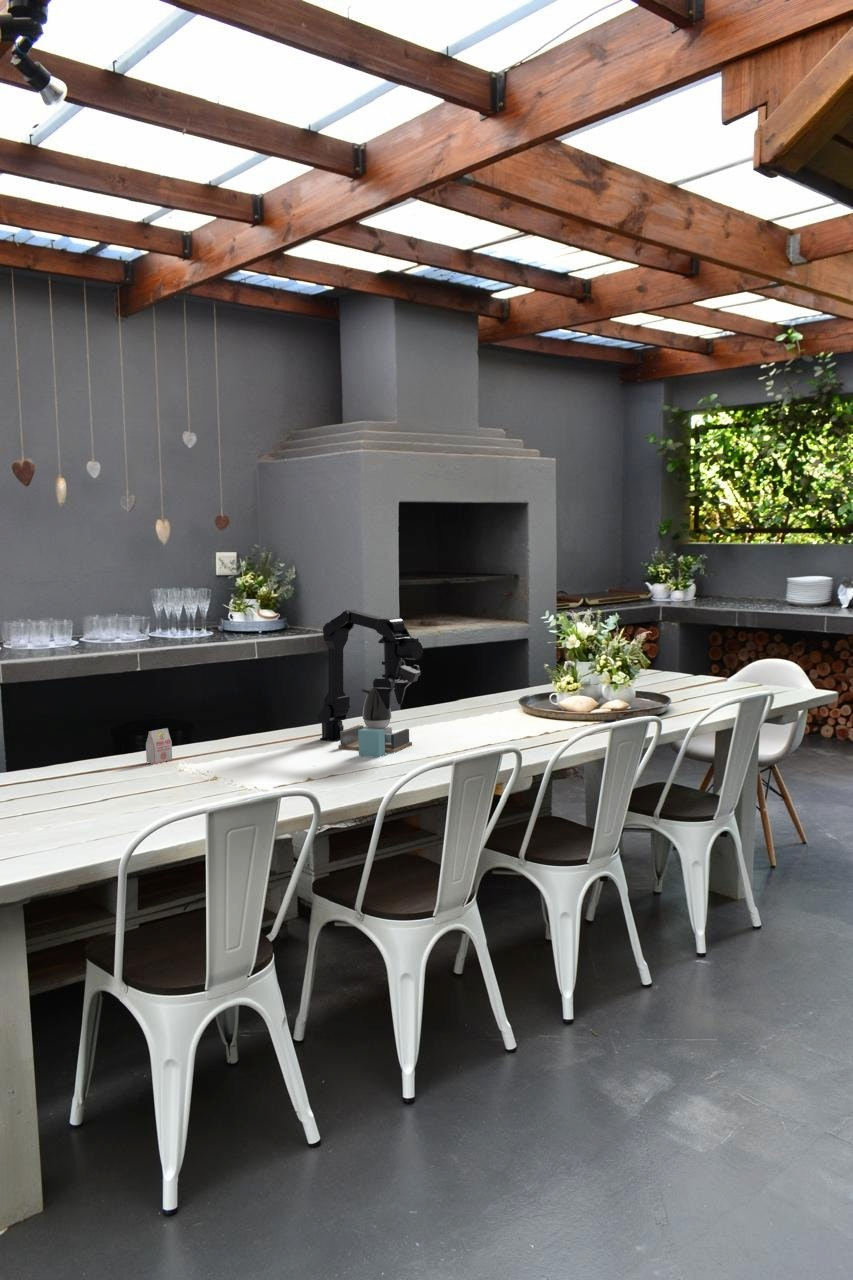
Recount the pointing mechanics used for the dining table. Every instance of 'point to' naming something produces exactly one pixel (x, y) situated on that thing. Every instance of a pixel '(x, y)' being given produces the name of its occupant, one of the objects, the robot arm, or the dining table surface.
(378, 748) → the workpiece block
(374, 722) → the pump dispenser
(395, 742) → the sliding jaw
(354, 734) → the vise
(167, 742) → the white cardboard carton
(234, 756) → the dining table surface
